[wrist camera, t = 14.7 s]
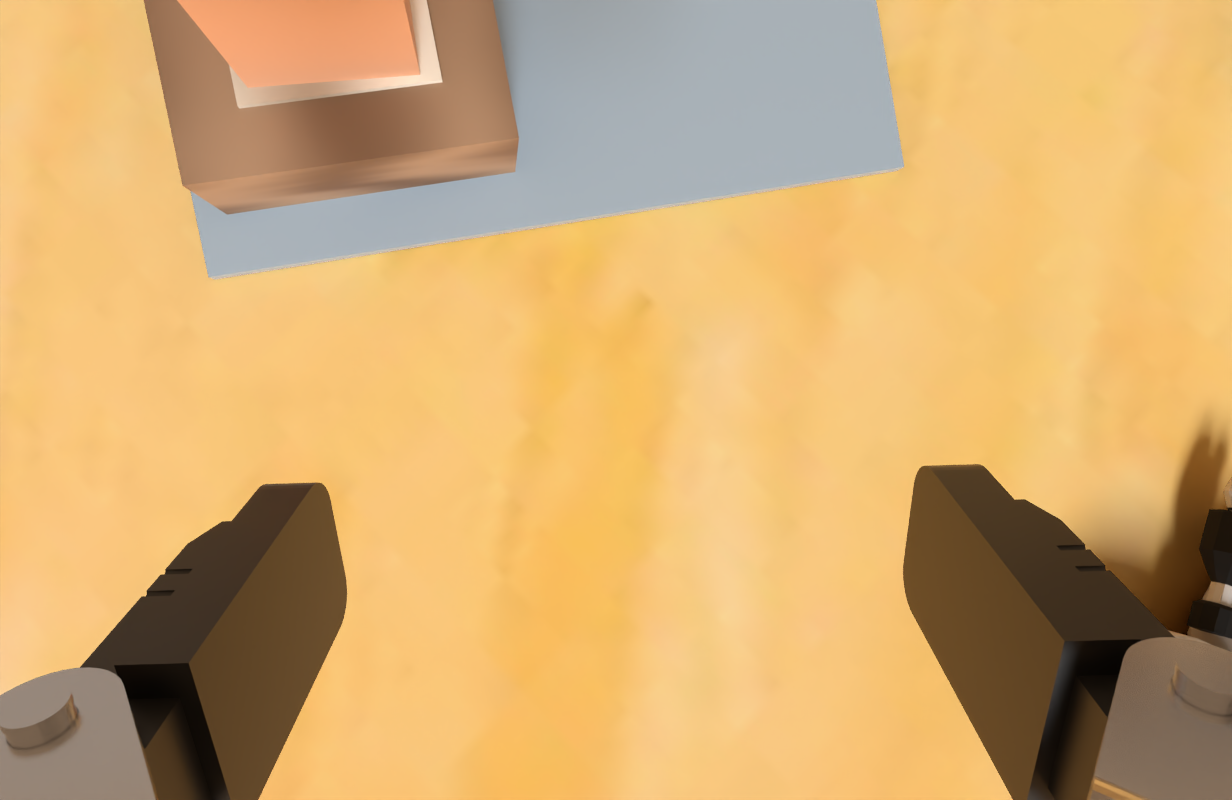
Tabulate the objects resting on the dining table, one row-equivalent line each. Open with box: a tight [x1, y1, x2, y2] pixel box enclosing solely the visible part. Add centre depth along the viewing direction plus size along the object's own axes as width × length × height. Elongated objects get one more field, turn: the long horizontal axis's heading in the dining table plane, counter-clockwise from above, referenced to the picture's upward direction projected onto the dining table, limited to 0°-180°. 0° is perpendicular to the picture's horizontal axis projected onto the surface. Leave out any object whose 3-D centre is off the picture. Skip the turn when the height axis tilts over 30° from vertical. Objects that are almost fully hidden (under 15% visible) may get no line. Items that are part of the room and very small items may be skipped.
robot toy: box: [1168, 478, 1232, 652], centre depth 33 cm, size 12×4×15 cm
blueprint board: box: [191, 0, 904, 279], centre depth 29 cm, size 26×14×1 cm, turn 100°
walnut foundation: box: [144, 0, 519, 215], centre depth 26 cm, size 10×10×4 cm
